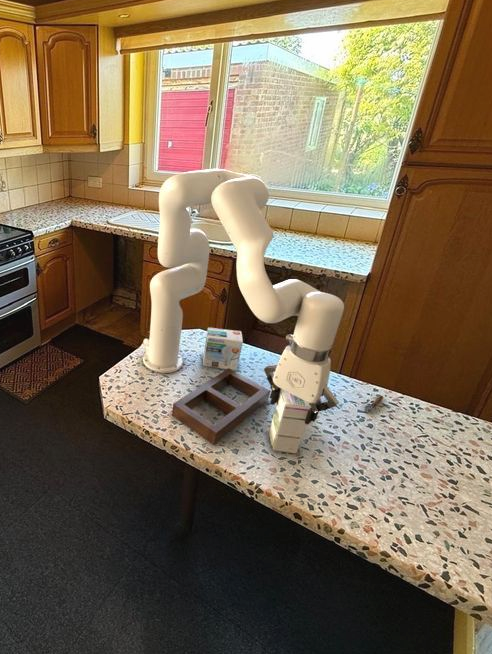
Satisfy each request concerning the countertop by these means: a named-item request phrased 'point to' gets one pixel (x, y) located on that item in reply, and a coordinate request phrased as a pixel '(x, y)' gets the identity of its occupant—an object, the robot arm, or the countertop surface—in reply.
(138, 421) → the countertop surface
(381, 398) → the can opener
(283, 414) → the syrup box
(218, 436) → the caddy
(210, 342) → the light bulb box
